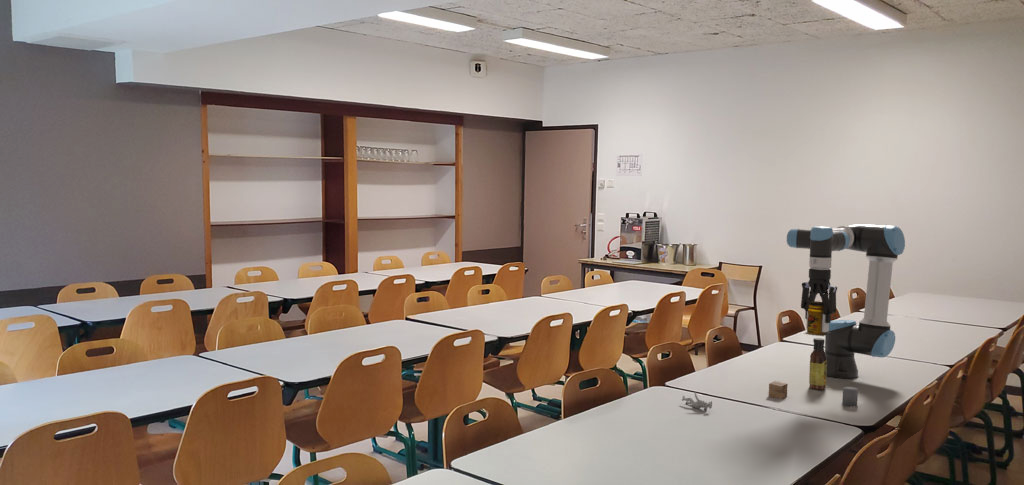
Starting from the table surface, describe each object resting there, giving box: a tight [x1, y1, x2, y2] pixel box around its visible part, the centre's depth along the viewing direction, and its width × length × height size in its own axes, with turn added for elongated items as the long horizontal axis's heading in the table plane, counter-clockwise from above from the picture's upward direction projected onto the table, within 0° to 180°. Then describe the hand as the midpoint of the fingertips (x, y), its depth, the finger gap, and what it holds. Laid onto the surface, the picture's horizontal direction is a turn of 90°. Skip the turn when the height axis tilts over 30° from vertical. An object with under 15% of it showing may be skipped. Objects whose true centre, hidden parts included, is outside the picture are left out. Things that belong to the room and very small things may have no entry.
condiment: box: [803, 300, 830, 337], centre depth 272 cm, size 7×8×12 cm
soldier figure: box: [681, 392, 713, 410], centre depth 263 cm, size 8×5×12 cm
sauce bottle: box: [808, 337, 827, 391], centre depth 290 cm, size 6×6×20 cm
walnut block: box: [768, 380, 788, 400], centre depth 279 cm, size 5×5×5 cm
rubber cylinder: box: [841, 386, 859, 408], centre depth 269 cm, size 5×5×6 cm
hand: (817, 329), depth 272 cm, fingers closed on condiment, 6 cm apart
